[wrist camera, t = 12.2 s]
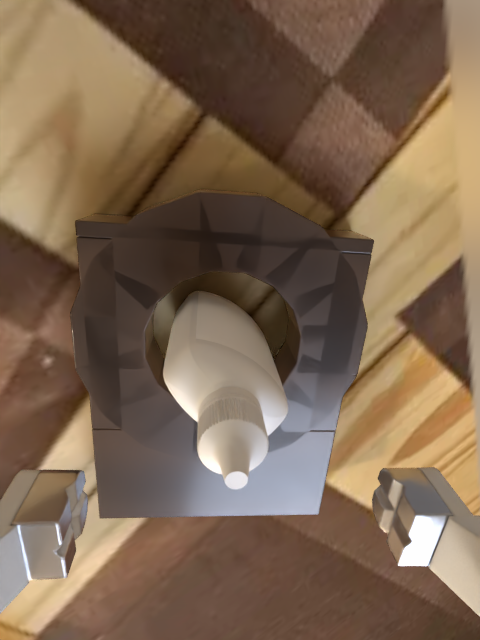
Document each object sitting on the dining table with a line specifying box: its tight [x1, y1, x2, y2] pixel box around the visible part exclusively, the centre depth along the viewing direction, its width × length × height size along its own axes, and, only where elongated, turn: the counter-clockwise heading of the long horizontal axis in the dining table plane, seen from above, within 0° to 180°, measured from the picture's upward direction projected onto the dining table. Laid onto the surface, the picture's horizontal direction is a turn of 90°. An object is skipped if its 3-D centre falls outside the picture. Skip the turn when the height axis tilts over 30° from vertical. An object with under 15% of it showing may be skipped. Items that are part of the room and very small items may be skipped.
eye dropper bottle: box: [163, 291, 288, 489], centre depth 17 cm, size 4×6×12 cm
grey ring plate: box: [70, 189, 374, 518], centre depth 22 cm, size 20×15×3 cm
